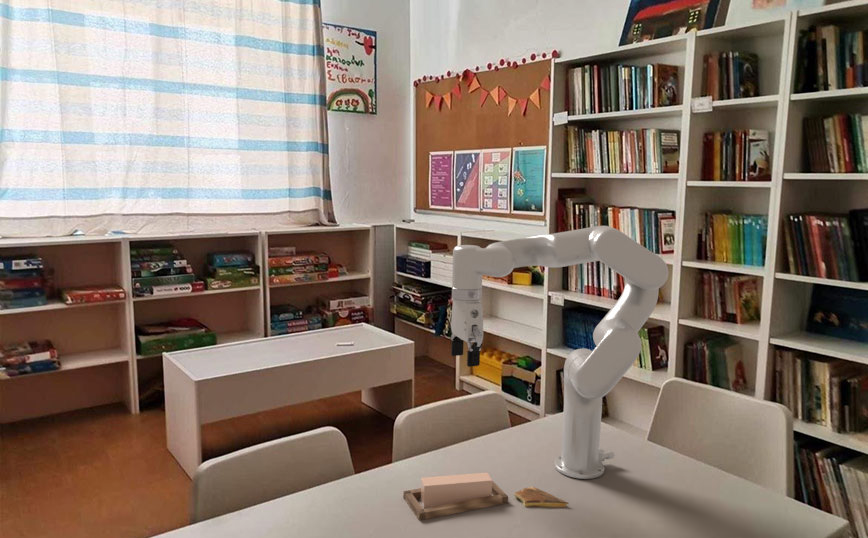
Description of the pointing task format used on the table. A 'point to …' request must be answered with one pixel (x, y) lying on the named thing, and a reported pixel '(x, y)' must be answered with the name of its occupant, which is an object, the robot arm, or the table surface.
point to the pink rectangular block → (454, 489)
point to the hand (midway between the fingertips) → (465, 360)
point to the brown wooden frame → (453, 508)
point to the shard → (538, 498)
